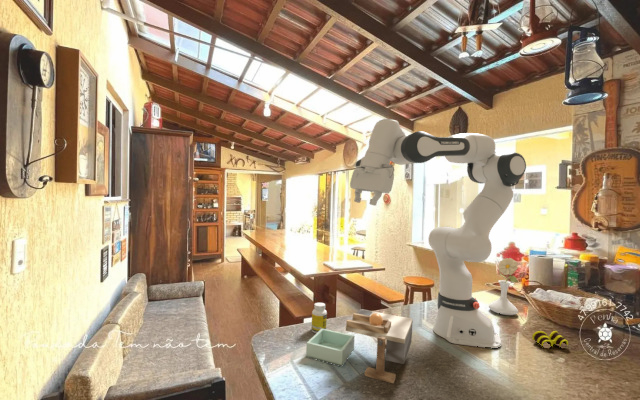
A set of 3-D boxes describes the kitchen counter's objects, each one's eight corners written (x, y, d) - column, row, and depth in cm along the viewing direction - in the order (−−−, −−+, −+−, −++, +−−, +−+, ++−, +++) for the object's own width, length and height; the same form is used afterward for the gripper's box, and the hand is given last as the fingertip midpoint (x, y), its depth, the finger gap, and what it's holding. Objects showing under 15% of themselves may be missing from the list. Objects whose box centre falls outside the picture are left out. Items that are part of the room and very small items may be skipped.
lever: (411, 341, 102) (412, 313, 101) (403, 365, 87) (404, 333, 87) (360, 330, 108) (361, 304, 108) (344, 350, 94) (346, 321, 94)
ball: (384, 326, 95) (384, 312, 95) (380, 331, 91) (381, 317, 91) (371, 323, 97) (371, 310, 97) (367, 328, 93) (367, 314, 93)
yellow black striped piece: (542, 352, 108) (545, 339, 106) (530, 341, 113) (533, 329, 112) (568, 351, 109) (571, 338, 107) (555, 341, 114) (558, 329, 113)
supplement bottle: (324, 334, 113) (325, 307, 113) (309, 333, 114) (310, 306, 114) (327, 328, 118) (328, 302, 118) (313, 326, 119) (314, 301, 119)
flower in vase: (482, 307, 146) (485, 253, 145) (506, 307, 147) (508, 254, 146) (502, 319, 133) (505, 260, 132) (527, 319, 134) (530, 260, 133)
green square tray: (354, 349, 103) (354, 335, 103) (341, 366, 92) (342, 351, 92) (321, 341, 108) (321, 328, 108) (306, 357, 97) (306, 342, 97)
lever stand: (406, 347, 105) (407, 314, 105) (393, 383, 85) (395, 343, 85) (382, 342, 109) (383, 310, 108) (364, 375, 88) (365, 336, 88)
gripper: (402, 167, 101) (390, 209, 100) (366, 167, 119) (356, 203, 118) (387, 161, 98) (375, 204, 97) (352, 162, 116) (342, 198, 115)
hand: (364, 203), depth 108 cm, fingers open, 8 cm apart
